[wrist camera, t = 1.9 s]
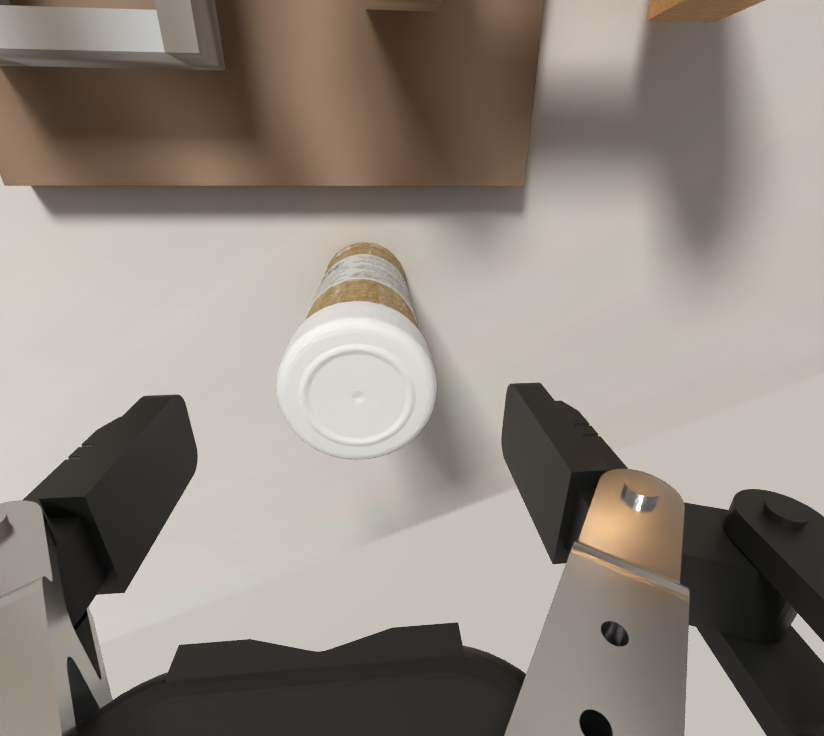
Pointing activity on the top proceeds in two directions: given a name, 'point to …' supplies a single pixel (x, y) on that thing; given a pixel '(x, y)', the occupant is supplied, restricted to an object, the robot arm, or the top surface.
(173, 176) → the socket base
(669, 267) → the top surface
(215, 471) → the top surface
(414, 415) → the spice jar
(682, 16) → the bar
